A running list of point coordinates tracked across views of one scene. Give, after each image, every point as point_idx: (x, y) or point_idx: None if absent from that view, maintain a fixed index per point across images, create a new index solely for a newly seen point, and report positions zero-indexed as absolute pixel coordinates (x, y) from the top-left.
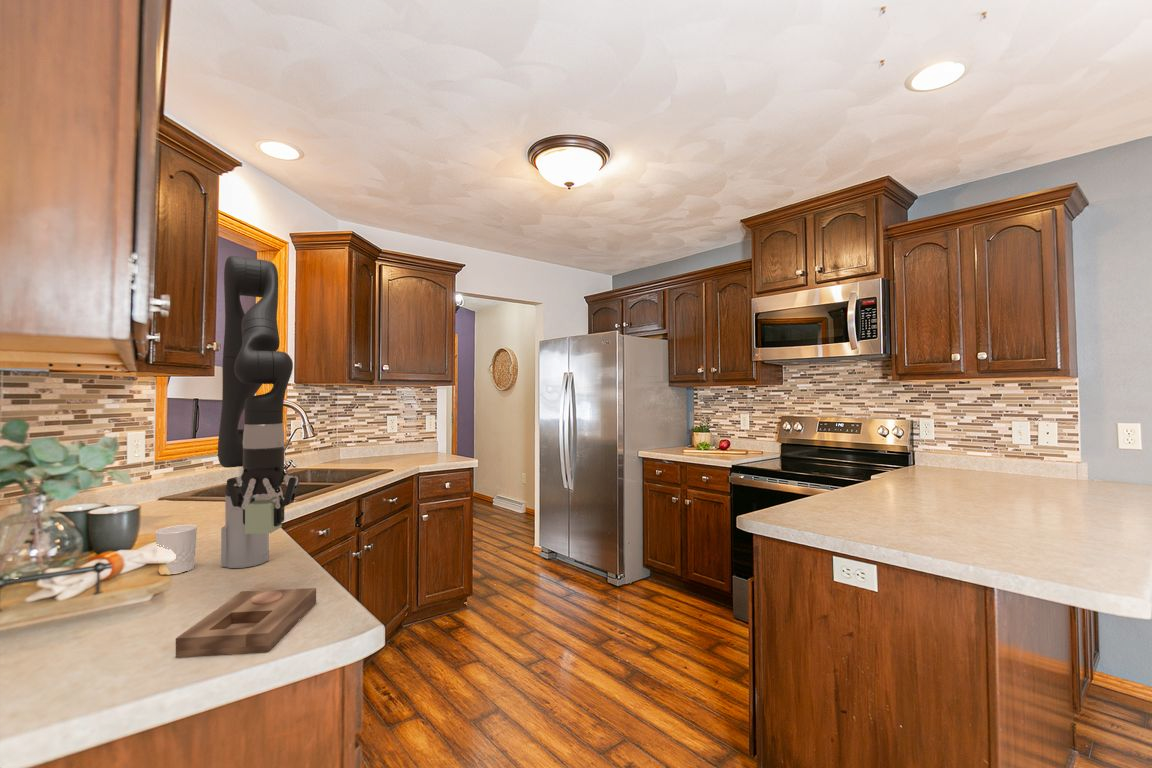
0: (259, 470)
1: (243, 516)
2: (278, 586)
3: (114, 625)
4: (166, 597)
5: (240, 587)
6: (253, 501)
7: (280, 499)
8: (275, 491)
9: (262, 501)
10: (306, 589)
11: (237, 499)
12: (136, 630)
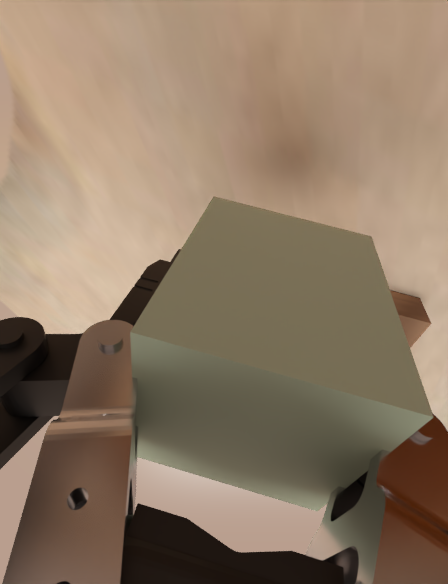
0: None
1: None
2: (327, 115)
3: (54, 253)
4: (30, 102)
5: (202, 75)
6: (139, 395)
7: (408, 484)
8: (369, 579)
9: (227, 426)
10: (404, 324)
11: (25, 442)
12: (109, 289)
